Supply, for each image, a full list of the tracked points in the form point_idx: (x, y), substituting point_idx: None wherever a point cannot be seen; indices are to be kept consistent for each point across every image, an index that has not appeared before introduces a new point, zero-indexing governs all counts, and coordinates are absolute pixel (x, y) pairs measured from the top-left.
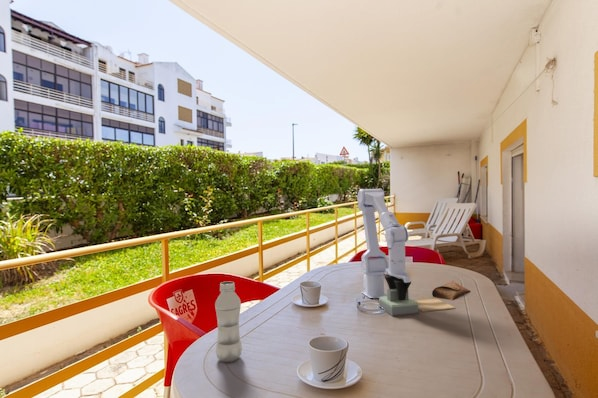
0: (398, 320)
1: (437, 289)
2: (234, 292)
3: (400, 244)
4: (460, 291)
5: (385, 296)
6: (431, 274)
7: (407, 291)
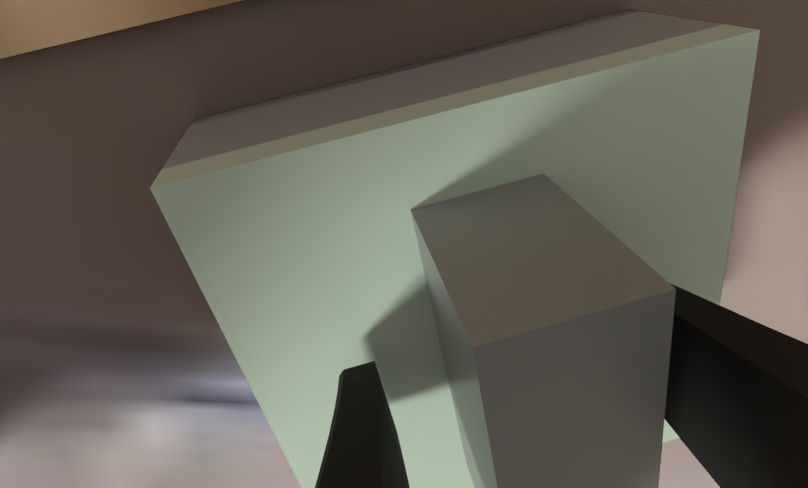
0: (740, 299)
1: None
2: None
3: None
4: None
5: (304, 480)
6: None
7: (639, 281)
